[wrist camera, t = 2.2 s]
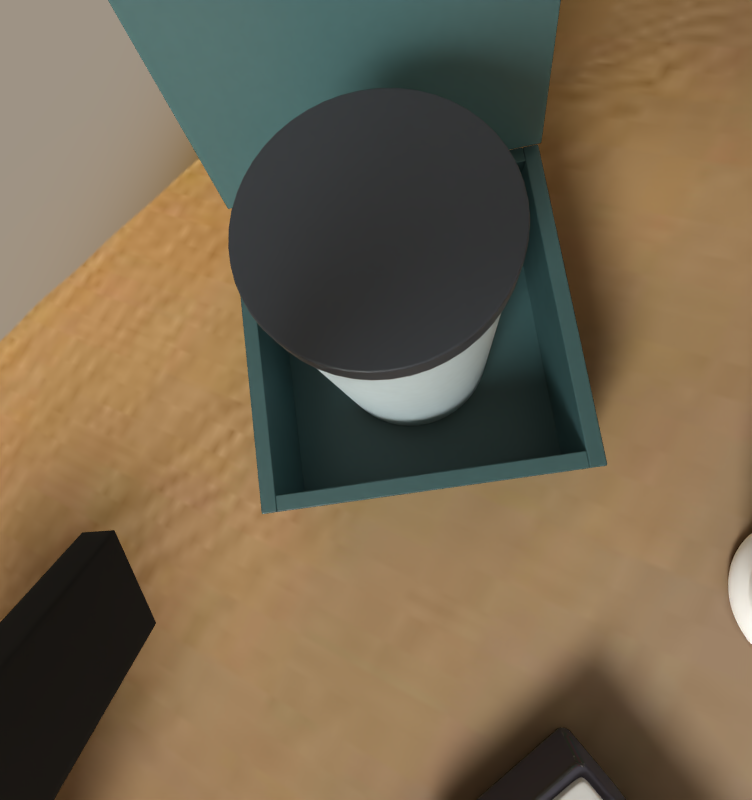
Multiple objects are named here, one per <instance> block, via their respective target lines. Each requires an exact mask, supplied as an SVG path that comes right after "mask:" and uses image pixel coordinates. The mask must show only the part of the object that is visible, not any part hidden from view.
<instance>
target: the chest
mask: <svg viewBox="0 0 752 800" xmlns="http://www.w3.org/2000/svg"><path fill="white" fill-rule="evenodd" d="M509 151H510V153H511V154H512V156H513V158H514V160H515V161H516V163H517V165H518V167H519V170H520V173H521V175H522V178H523V180H524V183H525V188H526V192H527V196H528V200H529V212H530V229H529V241H528V246H527V251H526V256H525V260H524V263H523V266H522V269H521V272H520V274H519V277H518V280H517V283H516V286H515V288H514V291H513V293H512V295H511V297H510V299H509V300H508V302H507V304H506V306H505V308H504V309H503V311H502V312H501V315H500V318H499V322H498V325H497V328H496V332H495V335H494V338H493V341H492V345H491V348H490V351H489V355H488V358H487V361H486V365H485V368H484V371H483V374H482V377H481V380H480V382H479V384H478V386H477V387H476V389H475V391H474V392H473V394H472V395H471V396H470V398H469V399H468V400H467V401H466V402H465V403H464V404H463V405H462V406H461V407H460V408H458V409H457V410H456V411H455V412H453V413H451V414H450V415H448V416H447V417H444V418H442V419H440V420H438V421H435V422H432V423H429V424H423V425H414V426H406V425H397V424H392V423H388V422H386V421H383V420H380V419H378V418H376V417H374V416H372V415H371V414H369V413H368V412H366V411H365V410H364V409H362V408H361V407H360V406H359V405H358V404H357V403H356V402H354V401H353V400H352V399H351V398H350V397H349V396H348V395H346V394H345V393H344V392H343V391H342V390H341V389H340V388H338V387H337V386H336V385H335V384H334V383H333V382H331V381H330V380H329V379H328V378H327V377H326V376H325V375H323V374H322V373H321V372H320V371H319V370H318V369H316V368H314V367H312V366H310V365H308V364H307V363H305V362H303V361H301V360H299V359H298V358H297V357H295V356H294V355H292V354H291V353H289V352H288V351H287V350H285V349H284V348H283V347H282V346H281V345H279V344H278V343H277V342H276V341H275V340H274V339H273V338H271V337H270V336H269V335H268V334H267V333H266V332H265V331H264V330H263V329H262V328H261V327H260V325H259V324H258V323H257V322H256V320H255V319H254V318H253V317H252V315H251V314H250V312H249V310H248V309H247V307H246V305H245V304H244V302H243V300H242V298H241V306H242V316H243V326H244V336H245V346H246V357H247V367H248V377H249V387H250V397H251V408H252V418H253V428H254V438H255V448H256V459H257V469H258V479H259V489H260V499H261V510H262V514H266V513H273V512H280V511H287V510H294V509H302V508H309V507H316V506H323V505H330V504H337V503H344V502H351V501H358V500H365V499H373V498H380V497H387V496H394V495H401V494H408V493H415V492H422V491H429V490H437V489H444V488H451V487H458V486H465V485H472V484H479V483H486V482H493V481H501V480H508V479H515V478H522V477H529V476H536V475H543V474H550V473H557V472H565V471H572V470H579V469H586V468H593V467H600V466H606V465H607V461H606V456H605V452H604V447H603V442H602V438H601V433H600V428H599V424H598V419H597V415H596V410H595V405H594V401H593V396H592V391H591V387H590V382H589V378H588V373H587V368H586V364H585V359H584V355H583V350H582V345H581V341H580V336H579V331H578V327H577V322H576V318H575V313H574V308H573V304H572V299H571V295H570V290H569V285H568V281H567V276H566V271H565V267H564V262H563V258H562V253H561V248H560V244H559V239H558V235H557V230H556V225H555V221H554V216H553V211H552V207H551V202H550V198H549V193H548V188H547V184H546V179H545V175H544V170H543V165H542V161H541V156H540V151H539V147H538V145H532V146H527V147H523V148H517V149H512V150H509Z"/></svg>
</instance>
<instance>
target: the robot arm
mask: <svg viewBox="0 0 752 800" xmlns="http://www.w3.org/2000/svg"><path fill="white" fill-rule="evenodd" d="M155 624H156V622H155V620H154V617H153V615H152V613H151V611H150V609H149V606H148V604H147V602H146V600H145V597H144V595H143V593H142V591H141V589H140V586H139V584H138V582H137V580H136V577H135V575H134V573H133V571H132V568H131V566H130V564H129V562H128V560H127V557H126V555H125V553H124V551H123V548H122V546H121V544H120V542H119V540H118V537H117V535H116V533H115V531H114V530H112V531H98V532H84V533H81V535H80V536H79V537H78V538H77V539H76V540H75V541H74V542H73V543H72V544H71V546H70V547H69V548H68V549H67V550H66V551H65V552H64V553H63V554H62V555H61V557H60V558H59V559H58V560H57V561H56V562H55V563H54V564H53V565H52V566H51V568H50V569H49V570H48V571H47V572H46V573H45V574H44V575H43V576H42V577H41V578H40V580H39V581H38V582H37V583H36V584H35V585H34V586H33V587H32V588H31V589H30V591H29V592H28V593H27V594H26V595H25V596H24V597H23V598H22V599H21V600H20V602H19V603H18V604H17V605H16V606H15V607H14V608H13V609H12V610H11V611H10V612H9V614H8V615H7V616H6V617H5V618H4V619H3V620H2V621H1V622H0V800H54V799H55V797H56V795H57V793H58V792H59V790H60V788H61V786H62V785H63V783H64V781H65V780H66V778H67V776H68V774H69V773H70V771H71V769H72V767H73V766H74V764H75V762H76V761H77V759H78V757H79V755H80V754H81V752H82V750H83V748H84V747H85V745H86V743H87V742H88V740H89V738H90V736H91V735H92V733H93V731H94V729H95V728H96V726H97V724H98V723H99V721H100V719H101V717H102V716H103V714H104V712H105V710H106V709H107V707H108V705H109V704H110V702H111V700H112V698H113V697H114V695H115V693H116V691H117V690H118V688H119V686H120V685H121V683H122V681H123V679H124V678H125V676H126V674H127V672H128V671H129V669H130V667H131V666H132V664H133V662H134V660H135V659H136V657H137V655H138V653H139V652H140V650H141V648H142V647H143V645H144V643H145V641H146V640H147V638H148V636H149V634H150V633H151V631H152V629H153V628H154V626H155Z"/></svg>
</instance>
